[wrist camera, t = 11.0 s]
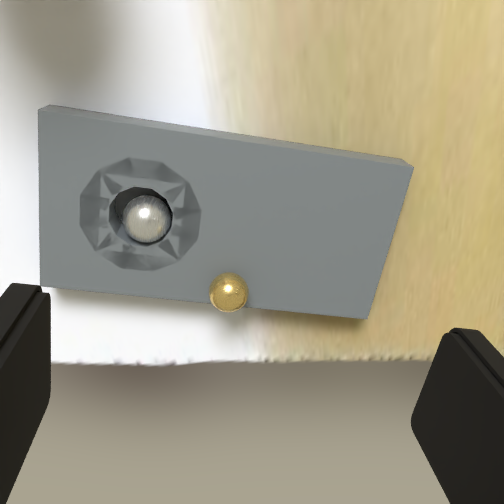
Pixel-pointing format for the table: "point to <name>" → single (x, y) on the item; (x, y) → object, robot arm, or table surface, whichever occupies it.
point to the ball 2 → (228, 292)
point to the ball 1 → (146, 218)
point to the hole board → (214, 213)
